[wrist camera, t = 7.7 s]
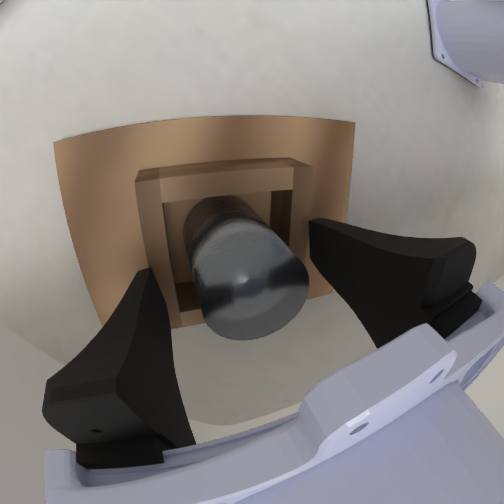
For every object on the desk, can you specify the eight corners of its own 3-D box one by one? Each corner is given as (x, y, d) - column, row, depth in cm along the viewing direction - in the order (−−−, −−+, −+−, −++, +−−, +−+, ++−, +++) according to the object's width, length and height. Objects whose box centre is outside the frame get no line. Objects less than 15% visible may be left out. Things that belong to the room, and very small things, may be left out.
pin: (251, 186, 14) (308, 234, 9) (260, 252, 16) (309, 320, 11) (174, 205, 13) (188, 268, 8) (192, 271, 15) (215, 352, 10)
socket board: (345, 121, 15) (384, 127, 12) (325, 285, 20) (350, 313, 18) (60, 140, 10) (32, 149, 7) (108, 325, 16) (104, 365, 13)
